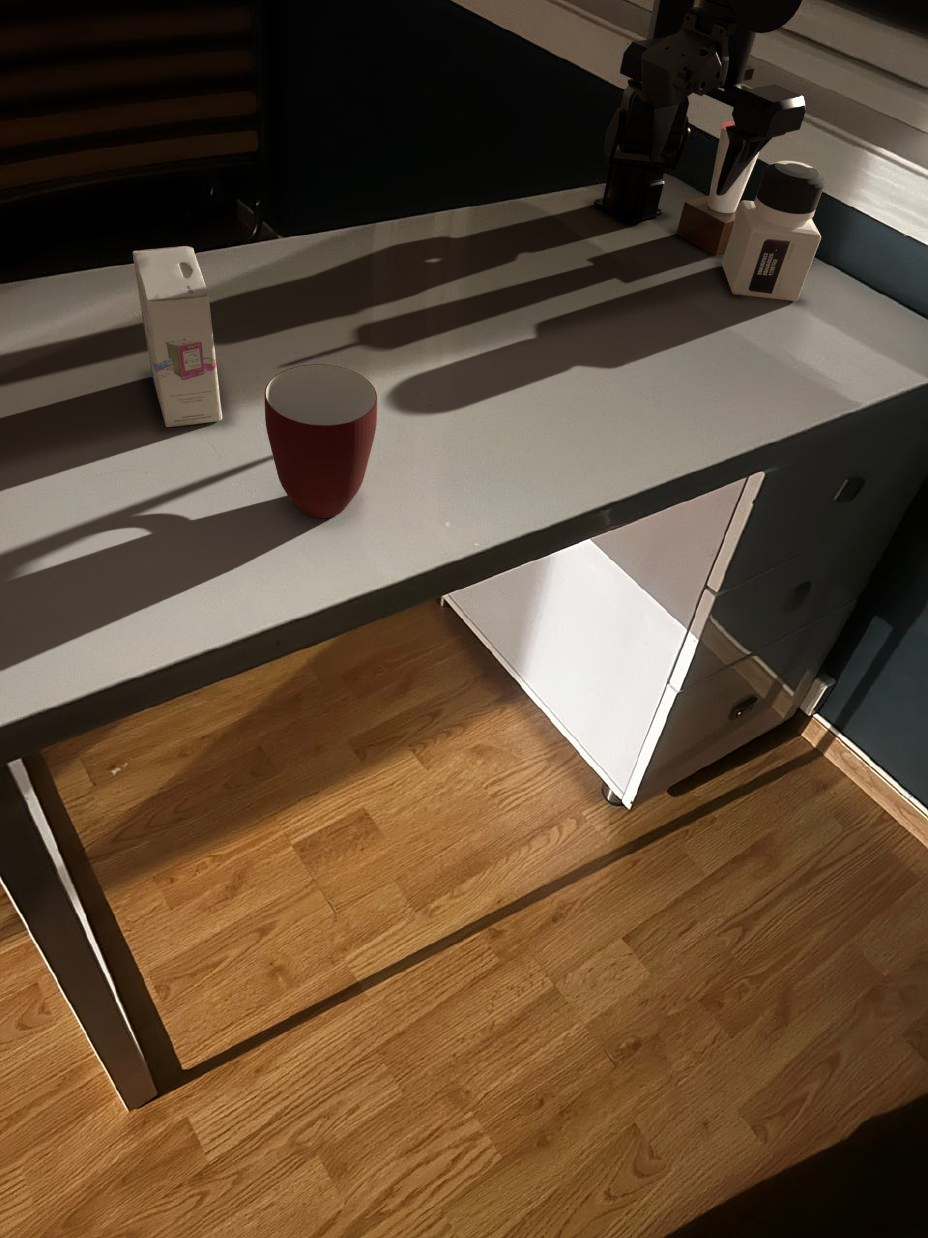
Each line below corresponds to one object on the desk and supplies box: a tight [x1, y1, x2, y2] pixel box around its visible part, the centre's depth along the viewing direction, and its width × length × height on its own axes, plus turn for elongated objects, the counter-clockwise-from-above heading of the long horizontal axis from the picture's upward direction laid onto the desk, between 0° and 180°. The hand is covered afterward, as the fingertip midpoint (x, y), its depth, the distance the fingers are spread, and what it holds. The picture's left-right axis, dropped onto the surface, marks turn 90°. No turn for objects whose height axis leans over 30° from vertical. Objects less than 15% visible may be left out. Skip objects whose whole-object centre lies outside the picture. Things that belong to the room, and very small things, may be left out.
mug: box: [264, 363, 378, 519], centre depth 74 cm, size 10×8×10 cm
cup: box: [708, 120, 761, 213], centre depth 113 cm, size 5×5×12 cm
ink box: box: [132, 245, 223, 428], centre depth 81 cm, size 8×5×12 cm, turn 21°
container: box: [721, 160, 826, 302], centre depth 109 cm, size 8×8×13 cm
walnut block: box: [675, 195, 740, 256], centre depth 119 cm, size 6×6×4 cm
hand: (686, 176), depth 99 cm, fingers open, 9 cm apart
